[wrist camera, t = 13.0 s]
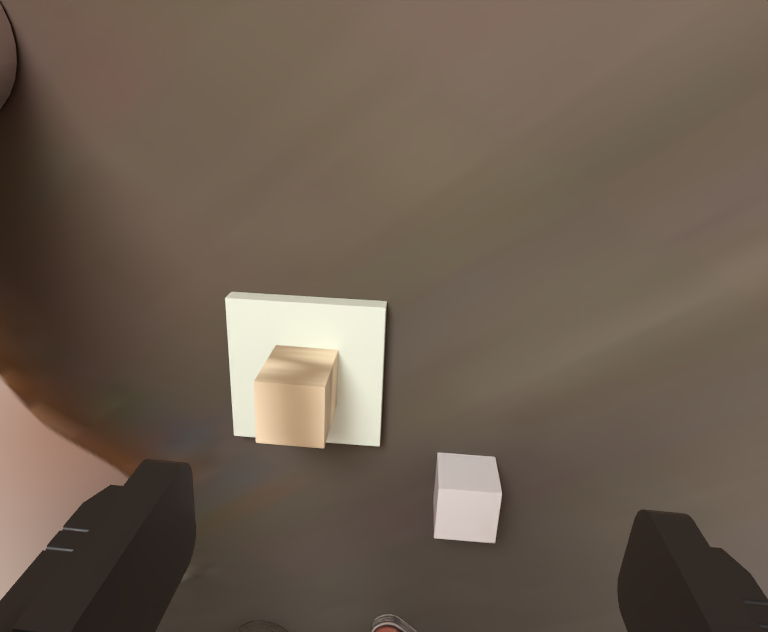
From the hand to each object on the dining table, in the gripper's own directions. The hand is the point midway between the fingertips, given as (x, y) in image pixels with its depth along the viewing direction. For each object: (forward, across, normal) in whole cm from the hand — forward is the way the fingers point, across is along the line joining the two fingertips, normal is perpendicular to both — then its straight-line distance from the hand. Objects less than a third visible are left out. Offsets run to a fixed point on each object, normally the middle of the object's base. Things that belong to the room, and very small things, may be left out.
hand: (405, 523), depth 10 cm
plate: (+26, +7, +10) cm, 28 cm away
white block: (+26, -5, +18) cm, 32 cm away
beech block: (+24, +6, +10) cm, 27 cm away
